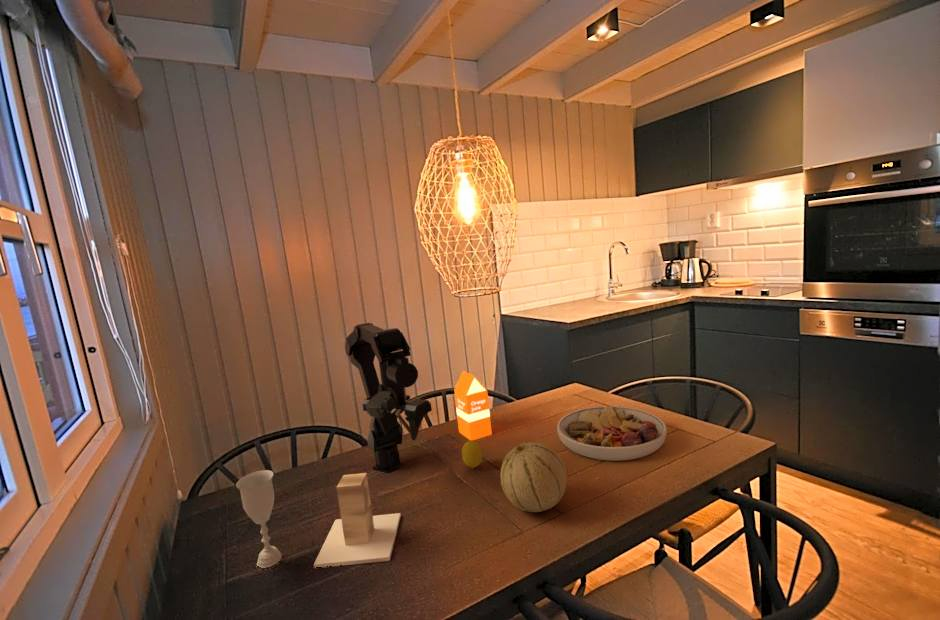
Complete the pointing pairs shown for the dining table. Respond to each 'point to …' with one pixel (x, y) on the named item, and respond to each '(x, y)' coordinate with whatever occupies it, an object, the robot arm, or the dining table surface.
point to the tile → (373, 551)
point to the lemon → (472, 454)
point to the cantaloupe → (533, 477)
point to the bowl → (612, 433)
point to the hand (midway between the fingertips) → (400, 437)
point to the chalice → (260, 509)
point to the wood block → (355, 509)
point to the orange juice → (472, 407)
